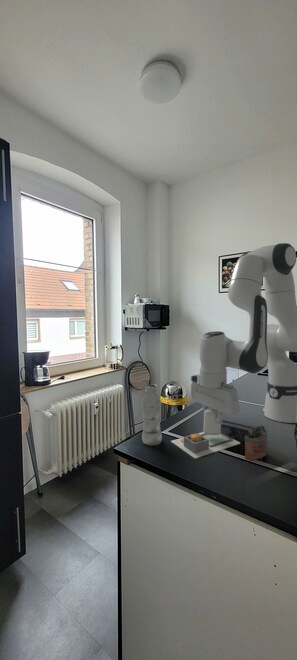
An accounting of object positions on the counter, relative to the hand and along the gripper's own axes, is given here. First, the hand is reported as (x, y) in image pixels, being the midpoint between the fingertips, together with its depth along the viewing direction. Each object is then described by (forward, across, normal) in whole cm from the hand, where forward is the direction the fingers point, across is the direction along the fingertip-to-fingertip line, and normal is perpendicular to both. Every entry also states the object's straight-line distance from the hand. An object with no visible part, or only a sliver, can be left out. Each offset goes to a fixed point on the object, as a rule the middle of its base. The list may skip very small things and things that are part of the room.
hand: (213, 420), depth 92 cm
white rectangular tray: (+8, 0, +4) cm, 9 cm away
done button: (+5, -2, +9) cm, 10 cm away
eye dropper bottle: (+5, 0, 0) cm, 5 cm away
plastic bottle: (+8, +9, +19) cm, 22 cm away
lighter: (+8, -15, -3) cm, 17 cm away
